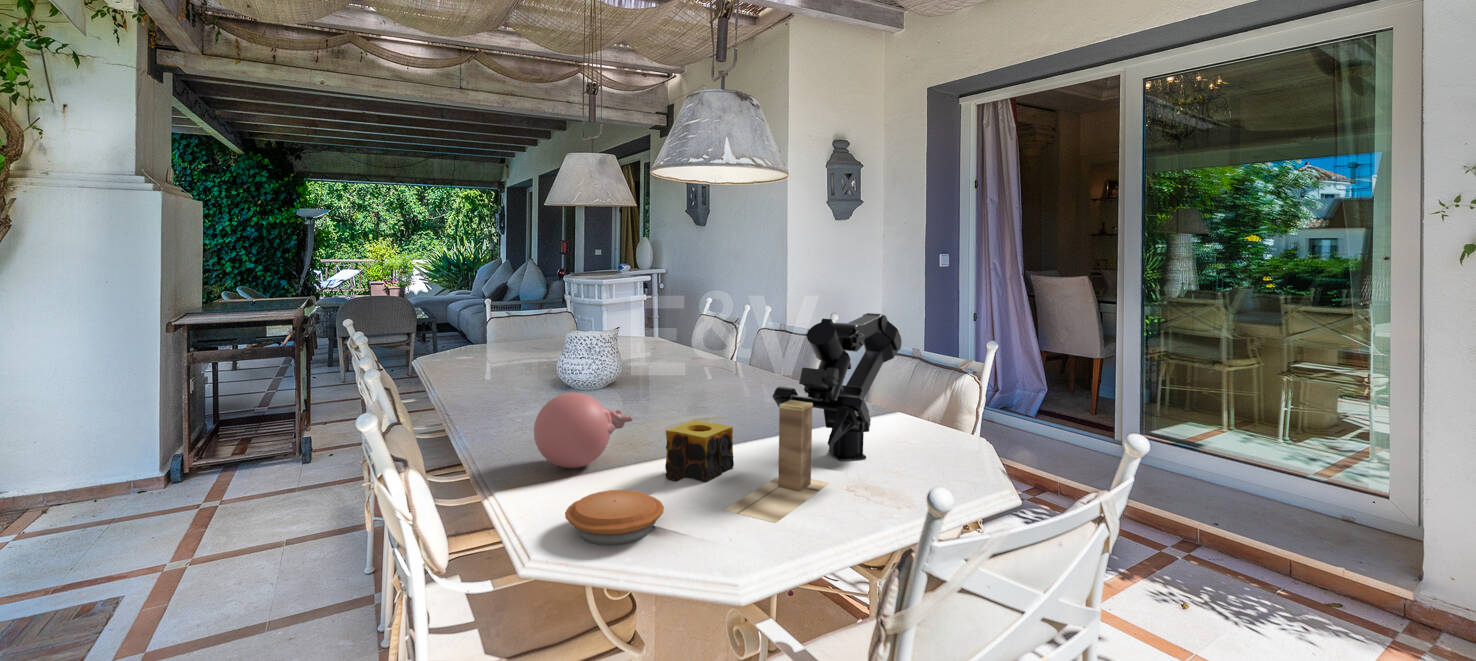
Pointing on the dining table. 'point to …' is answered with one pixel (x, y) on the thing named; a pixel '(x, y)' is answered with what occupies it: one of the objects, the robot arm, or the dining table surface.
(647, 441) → the dining table surface
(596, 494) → the pie
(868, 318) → the robot arm
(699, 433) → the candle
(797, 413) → the tall wooden pillar
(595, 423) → the balloon
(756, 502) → the board
